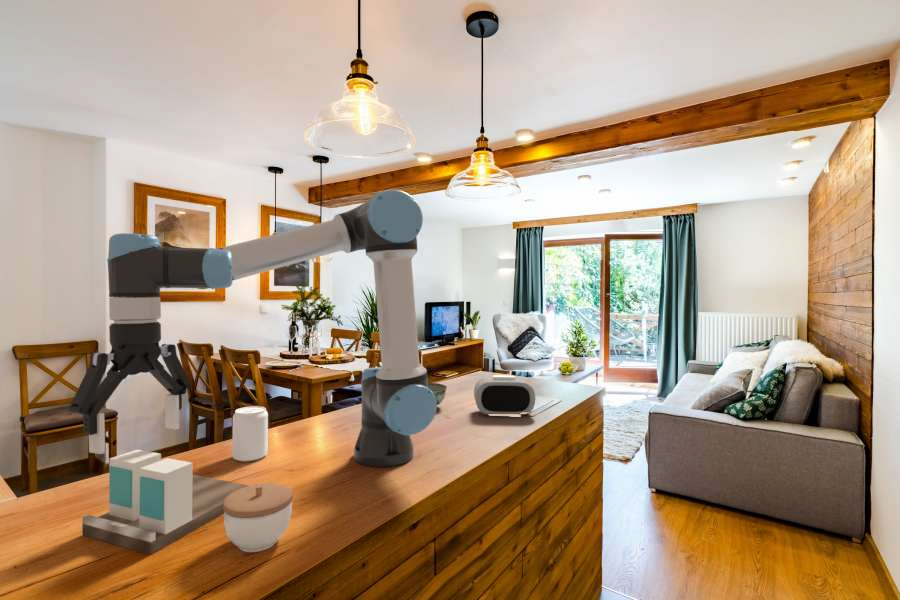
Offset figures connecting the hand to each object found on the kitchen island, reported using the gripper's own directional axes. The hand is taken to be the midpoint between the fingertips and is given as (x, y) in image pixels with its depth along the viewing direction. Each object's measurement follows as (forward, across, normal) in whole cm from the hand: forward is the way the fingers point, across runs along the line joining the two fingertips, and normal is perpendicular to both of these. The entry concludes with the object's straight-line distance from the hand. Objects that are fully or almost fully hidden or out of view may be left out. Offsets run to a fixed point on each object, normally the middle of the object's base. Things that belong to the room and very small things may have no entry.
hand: (137, 439), depth 80 cm
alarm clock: (+17, -98, +46) cm, 109 cm away
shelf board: (+15, -4, +4) cm, 16 cm away
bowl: (+17, -96, +18) cm, 99 cm away
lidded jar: (+16, -2, +24) cm, 29 cm away
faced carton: (+13, +2, +8) cm, 16 cm away
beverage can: (+16, -32, -6) cm, 36 cm away
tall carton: (+13, 0, 0) cm, 13 cm away
